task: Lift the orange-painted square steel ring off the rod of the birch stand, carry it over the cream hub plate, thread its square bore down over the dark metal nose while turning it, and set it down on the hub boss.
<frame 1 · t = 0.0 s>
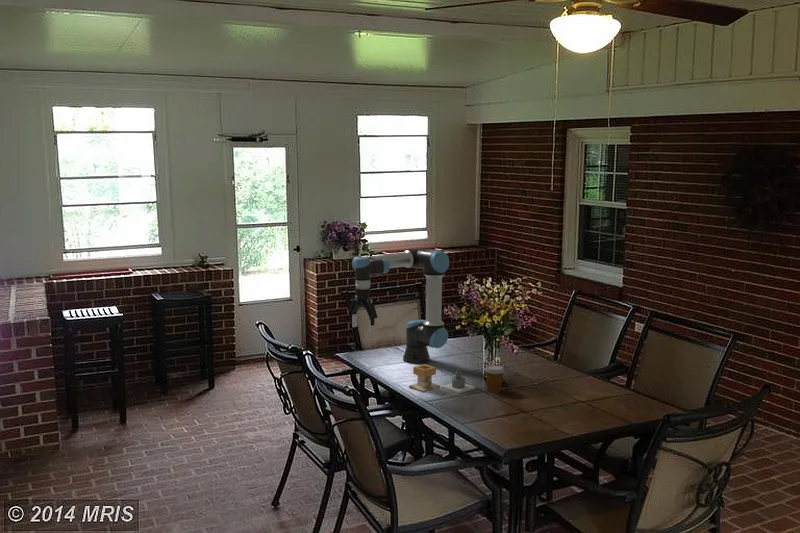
hand: (362, 329, 373), 28 cm above the table, fingers open, 13 cm apart
ring: (424, 374, 368), point 7 cm above the table, touching stand
stand: (424, 387, 369), on the table
hub: (458, 388, 368), on the table
disposable coffee cup: (494, 391, 365), on the table
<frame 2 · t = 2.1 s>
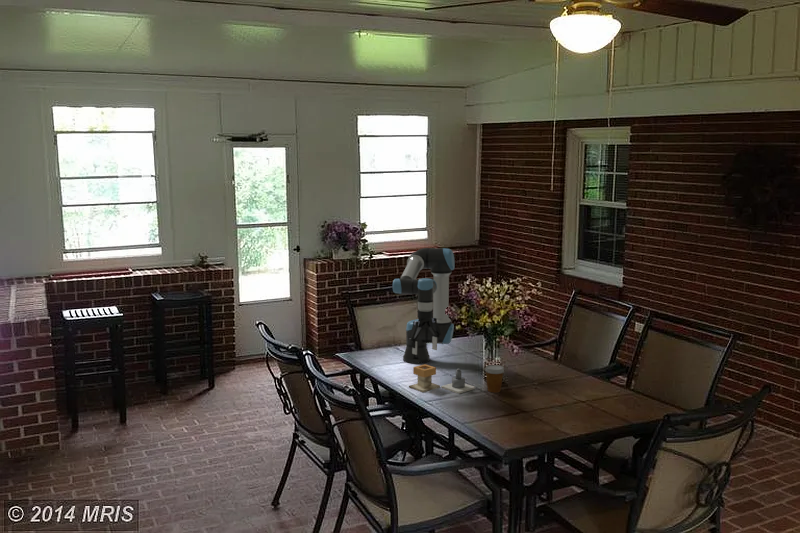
hand: (424, 351, 366), 19 cm above the table, fingers open, 13 cm apart
nothing on the table moved.
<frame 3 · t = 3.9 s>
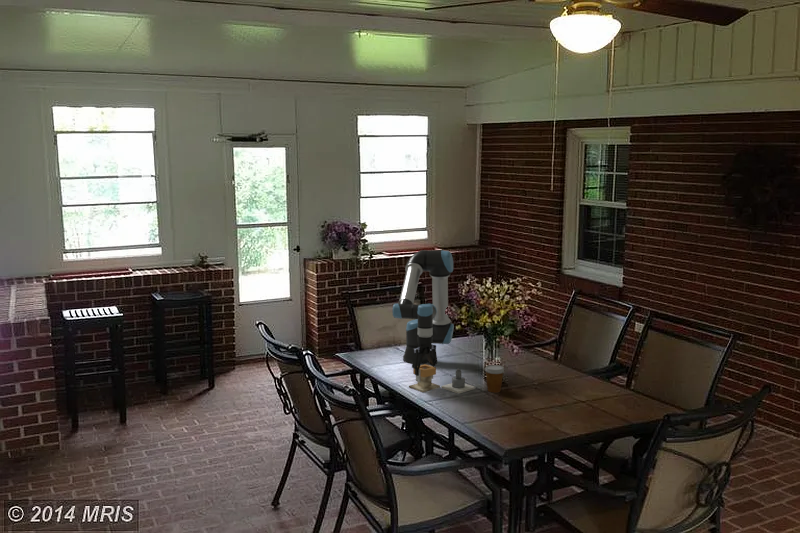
hand: (424, 379, 368), 4 cm above the table, fingers closed on ring, 8 cm apart
ring: (424, 374, 368), point 7 cm above the table, touching gripper, stand
everything else where it was.
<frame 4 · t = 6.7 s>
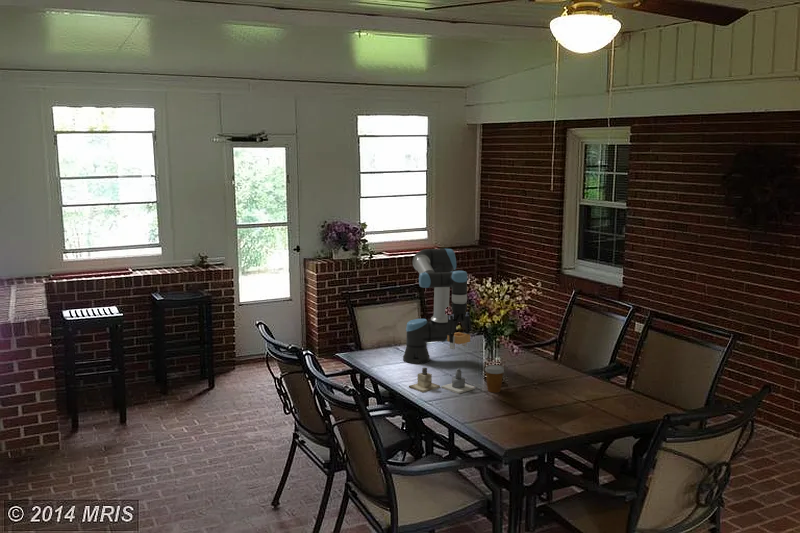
hand: (458, 347, 365), 21 cm above the table, fingers closed on ring, 8 cm apart
ring: (458, 341, 364), point 24 cm above the table, touching gripper
everything else where it was.
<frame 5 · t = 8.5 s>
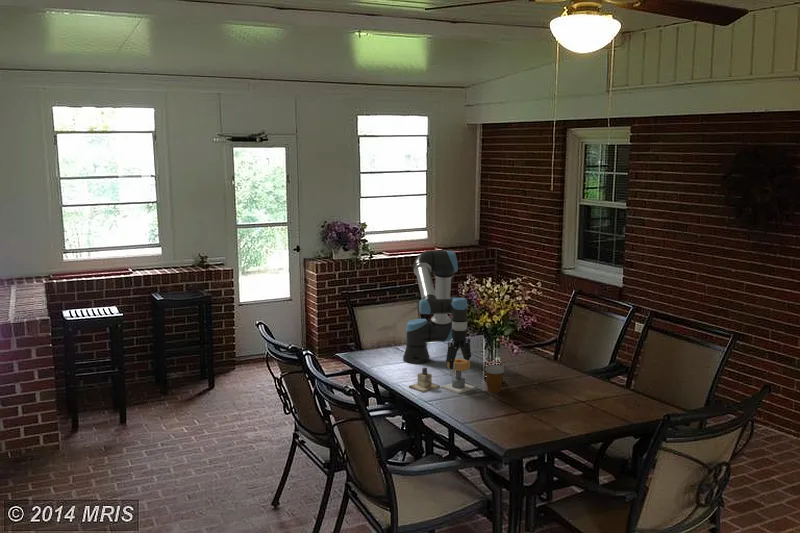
hand: (458, 373, 367), 8 cm above the table, fingers closed on ring, 8 cm apart
ring: (458, 368, 366), point 11 cm above the table, touching gripper
everything else where it was.
when the fingers open (3 cm above the table, at t = 9.9 s): ring drops 1 cm, resting on hub.
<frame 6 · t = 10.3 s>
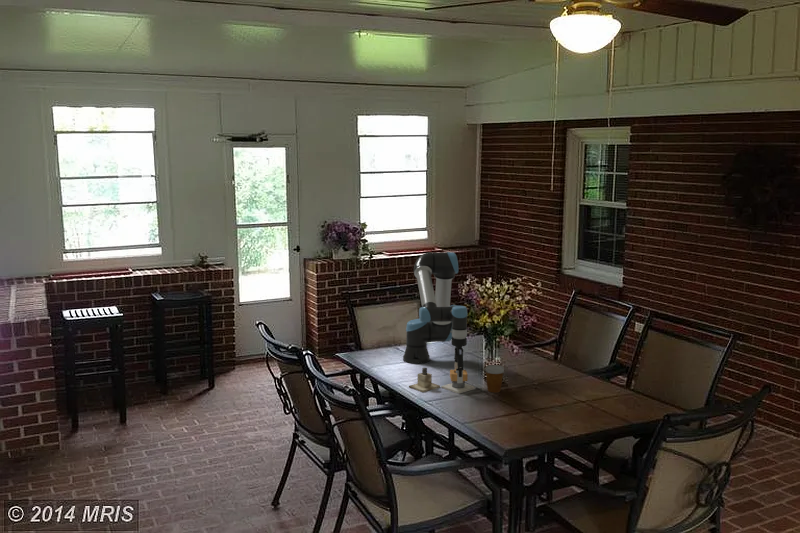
hand: (458, 378, 367), 5 cm above the table, fingers open, 13 cm apart
ring: (458, 378, 367), point 5 cm above the table, touching hub
everything else where it was.
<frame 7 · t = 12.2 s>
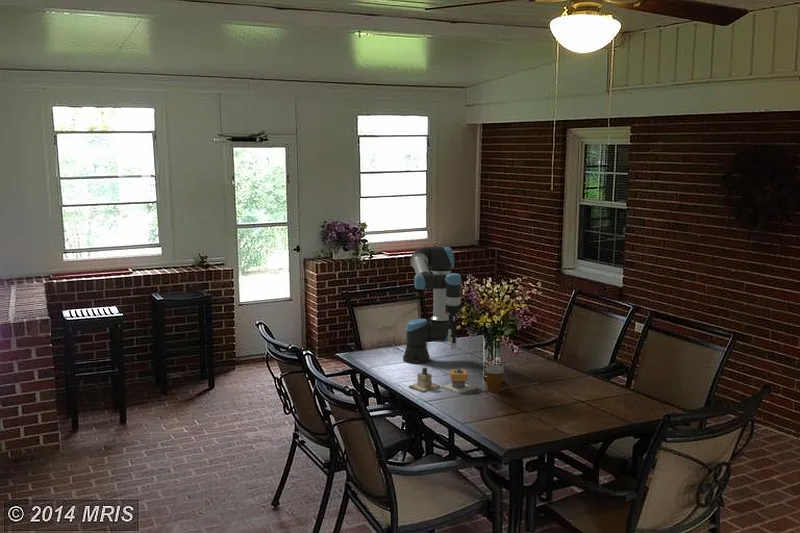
hand: (452, 345, 372), 20 cm above the table, fingers open, 13 cm apart
nothing on the table moved.
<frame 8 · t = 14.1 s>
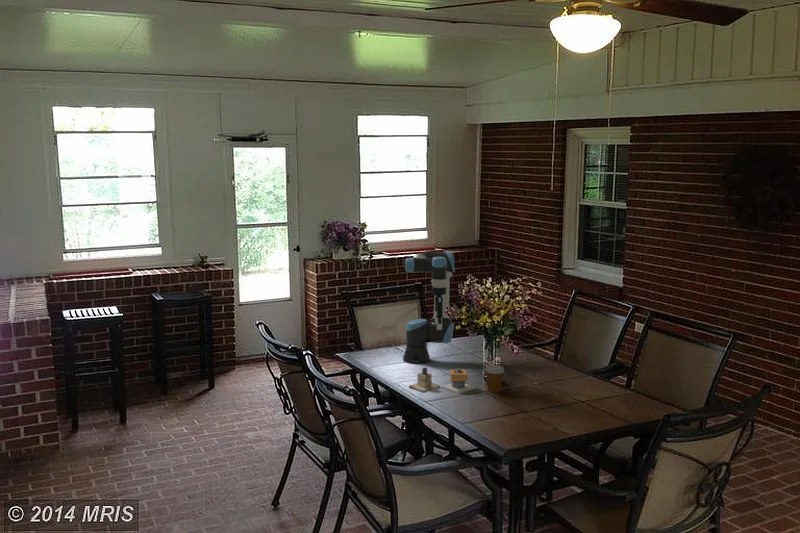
hand: (438, 326, 385), 27 cm above the table, fingers open, 13 cm apart
nothing on the table moved.
at the end: ring 0.1 cm off-centre on the hub, point 5.0 cm above the hub's base; the gripper is holding nothing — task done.
